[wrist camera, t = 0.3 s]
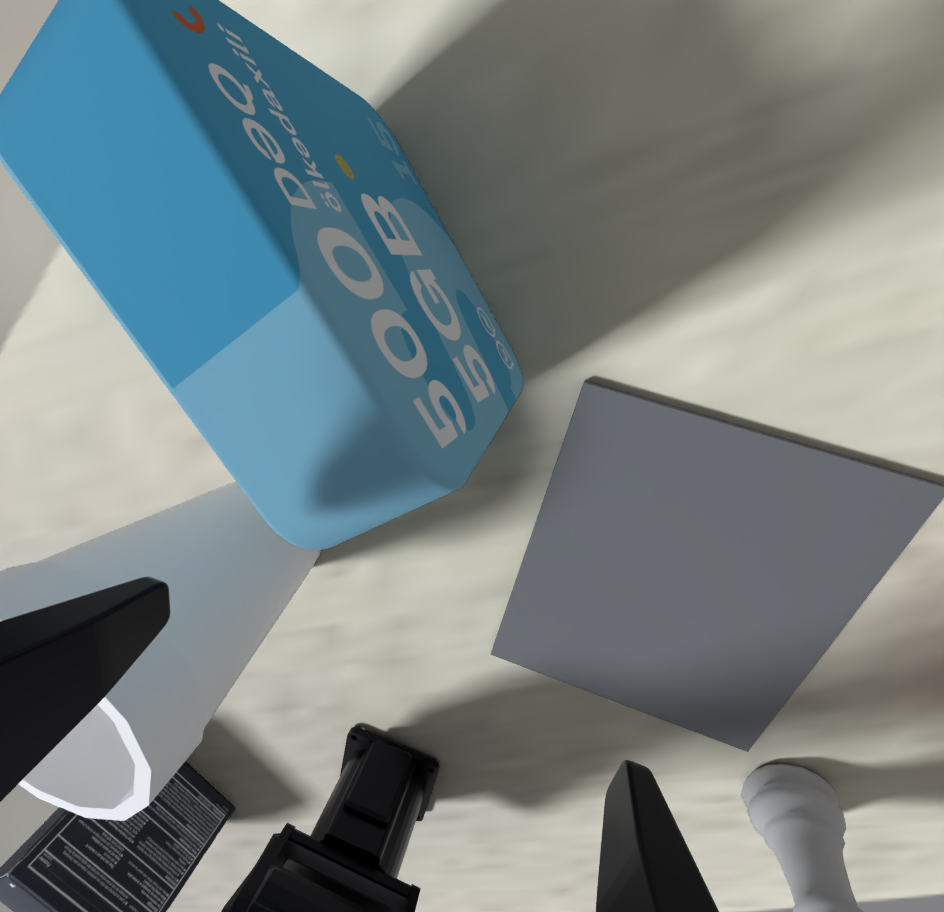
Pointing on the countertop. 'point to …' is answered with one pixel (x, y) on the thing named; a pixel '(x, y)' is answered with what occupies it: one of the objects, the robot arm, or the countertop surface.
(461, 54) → the countertop surface
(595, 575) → the mat
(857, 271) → the countertop surface
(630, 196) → the countertop surface
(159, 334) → the data package
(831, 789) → the rook chess piece
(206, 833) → the small box
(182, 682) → the foam cup
